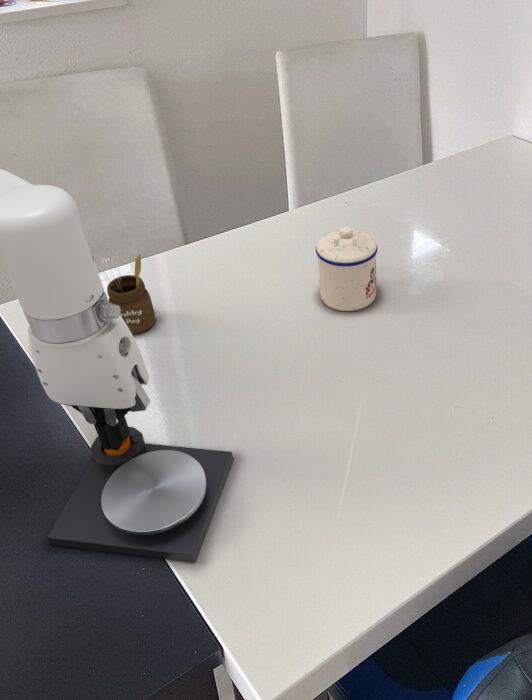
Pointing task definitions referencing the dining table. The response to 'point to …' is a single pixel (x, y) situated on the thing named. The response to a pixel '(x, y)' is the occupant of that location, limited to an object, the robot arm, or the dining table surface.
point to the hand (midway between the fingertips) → (116, 440)
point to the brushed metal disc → (154, 492)
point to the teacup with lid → (347, 269)
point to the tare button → (124, 448)
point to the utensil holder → (132, 299)
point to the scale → (99, 534)
